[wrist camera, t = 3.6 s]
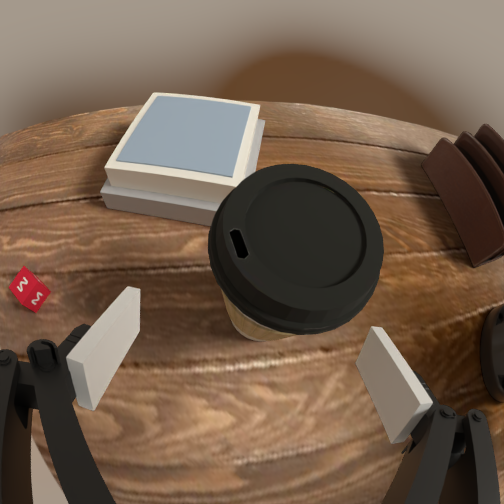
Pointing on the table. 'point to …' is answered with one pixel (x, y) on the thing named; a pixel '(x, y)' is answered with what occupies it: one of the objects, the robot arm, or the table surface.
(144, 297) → the table surface
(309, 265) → the coffee cup
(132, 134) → the plinth
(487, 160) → the letter holder
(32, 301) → the red letter cube
